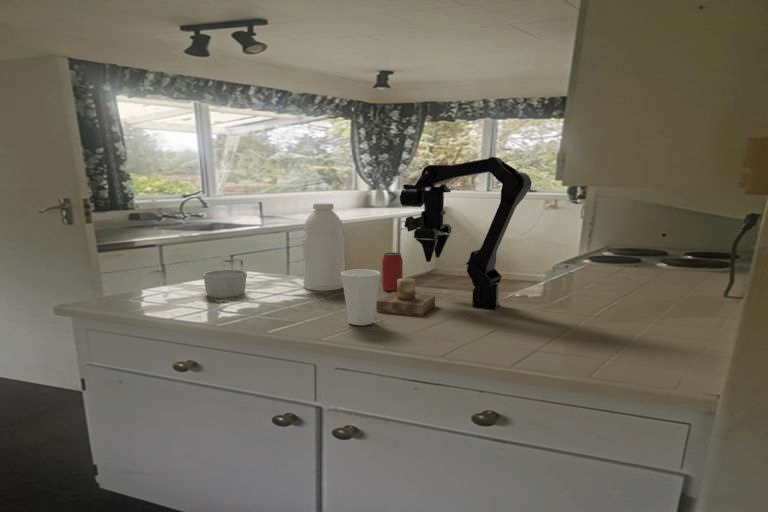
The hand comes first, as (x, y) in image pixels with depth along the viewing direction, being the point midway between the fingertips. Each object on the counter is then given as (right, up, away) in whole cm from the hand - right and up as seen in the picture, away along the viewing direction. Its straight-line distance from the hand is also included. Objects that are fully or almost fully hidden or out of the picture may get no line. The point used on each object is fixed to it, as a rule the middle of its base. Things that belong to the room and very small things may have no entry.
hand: (433, 259), depth 159 cm
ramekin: (-65, -11, +7) cm, 66 cm away
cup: (-21, -16, -26) cm, 37 cm away
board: (-8, -14, -11) cm, 19 cm away
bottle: (-35, -10, +19) cm, 41 cm away
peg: (-9, -14, -11) cm, 19 cm away
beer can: (-12, -10, +14) cm, 21 cm away
